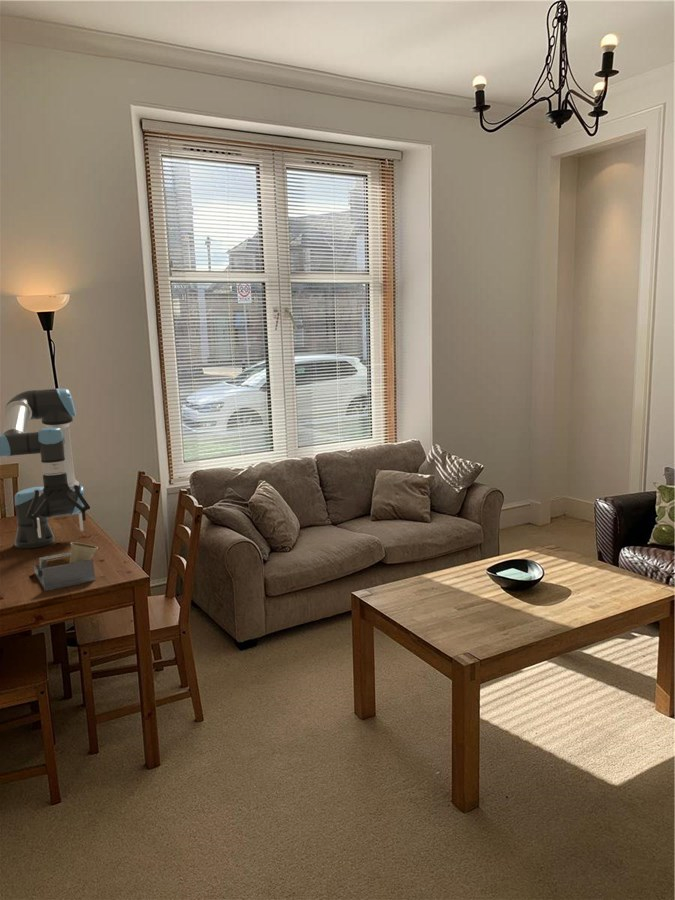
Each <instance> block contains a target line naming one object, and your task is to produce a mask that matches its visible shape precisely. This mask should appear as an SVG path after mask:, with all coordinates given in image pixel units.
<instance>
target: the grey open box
mask: <svg viewBox="0 0 675 900" xmlns="http://www.w3.org/2000/svg"><path fill="white" fill-rule="evenodd" d="M33 566H34V568H33V569H34V574H35V576H36V577H37V580H39V583H40V585H41V586H42V588H43V590H44V592H48V591H52V590H56V589H57V590H58V589H62V588H66V587H72V586H76V585H81V584H84V583H89V582H90V583H91V582H94V581H96V578H95V568H94V567H95V566H94V560H93V558H92V559H89V560H84V561H79V562H74V563H69V564H64V565H58V566H53V567H48V568H43V569H42V570H41V568H40V564H39V562H37V563H34V564H33Z"/></svg>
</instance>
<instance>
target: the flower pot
mask: <svg viewBox="0 0 675 900" xmlns="http://www.w3.org/2000/svg"><path fill="white" fill-rule="evenodd" d="M69 544H70V549H71V550H70V552H71V557H70V563H74V562H79V561H84V560H89V559H93V557H94V555H95V553H96V552H97V550H98V549H99V547H98V546H95V545H92V544H88V543H81V542H76V541H75V542H73V541H72V542H70V543H69Z"/></svg>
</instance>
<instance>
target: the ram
mask: <svg viewBox="0 0 675 900" xmlns="http://www.w3.org/2000/svg"><path fill="white" fill-rule="evenodd" d="M70 557H71V551H68V552H64V553H58V554H54V555H53V554H51V555H47V556H41V557H39V558H38V560H39V567H40V568H41V570H42V569H43V568H48V567H53V566H58V565H64V564H69V563H70Z"/></svg>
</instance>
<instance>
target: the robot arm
mask: <svg viewBox="0 0 675 900" xmlns="http://www.w3.org/2000/svg"><path fill="white" fill-rule="evenodd" d="M76 416H77V413H76V408H75V404H74V399H73V396H72V393H71V392H70V390H69V389H67V388H59V387H58V388H48V389H35V390H33V389H32V390H31V389H29V390H25V391H23V392H20V393H18V394H16V395H15V396H13V397H12V398H11V399H10V400H9V401H8V402H7V403H6V405H5V407H4V417H5V422H4V426H3V433H1V434H0V457H13V456H25V455H36V454H37V455H38V454H40V458H41V459H40V461H41V462H40V463H41V472H42V474H43V475H42V481H43V486H33V487H27V488H25V489H22V490H19V491H17V492H16V493H15V494H14V506H15V512H16V513H15V514H16V523H17V529H16V535H15V538H14V547H15V548H17V549H21V550H22V549H23V550H24V549H25V550H28V549H36V548H42V547H45V546H48V545H51V544H53V543H54V542H55V534H54V533H53V531H52V528H51V526H50V524H49V520H48V519H49V518H57V517H63V516H74V515H78V522H79V531H81V532H84V531H85V530H84V521H86V511H89V510H90V509H91V506H90V505H89V503H88V502H87V501H86V499H85V498H84V486H82V485H81V484H80V482H79V481H78V480H77V479H76V473H75V467H74V458H73V457H74V456H73V448H72V440H71V439H72V438H71V430H70V425H71V424H72V422H73V421H74V420H73V418H75V417H76ZM30 420H41V425H43V426H44V427H43V428H40V429H38V431H33V432H28V426H29V421H30Z"/></svg>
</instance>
